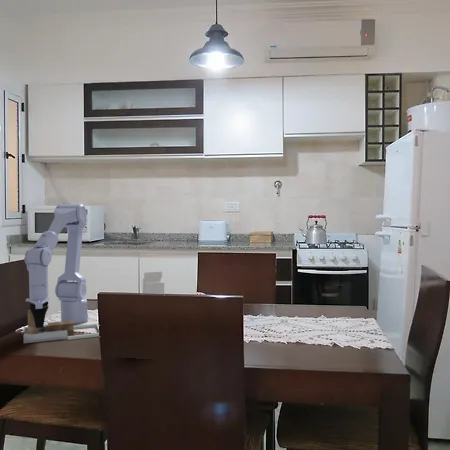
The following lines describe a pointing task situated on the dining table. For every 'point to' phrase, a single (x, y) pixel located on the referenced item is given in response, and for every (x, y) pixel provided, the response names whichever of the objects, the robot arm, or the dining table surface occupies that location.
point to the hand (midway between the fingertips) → (39, 325)
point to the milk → (153, 283)
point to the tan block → (33, 324)
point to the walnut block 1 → (54, 326)
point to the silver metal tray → (43, 335)
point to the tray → (85, 334)
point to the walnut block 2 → (68, 327)
